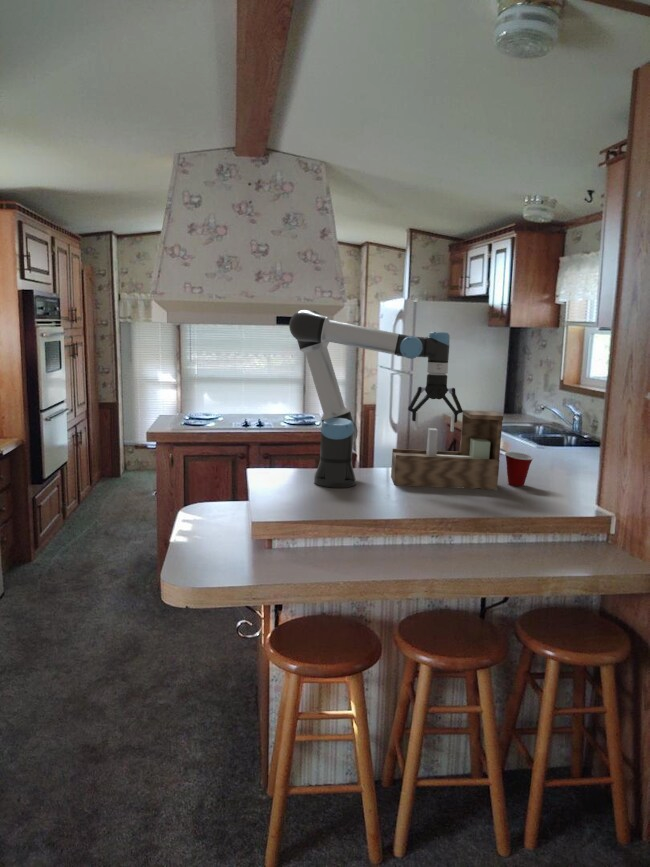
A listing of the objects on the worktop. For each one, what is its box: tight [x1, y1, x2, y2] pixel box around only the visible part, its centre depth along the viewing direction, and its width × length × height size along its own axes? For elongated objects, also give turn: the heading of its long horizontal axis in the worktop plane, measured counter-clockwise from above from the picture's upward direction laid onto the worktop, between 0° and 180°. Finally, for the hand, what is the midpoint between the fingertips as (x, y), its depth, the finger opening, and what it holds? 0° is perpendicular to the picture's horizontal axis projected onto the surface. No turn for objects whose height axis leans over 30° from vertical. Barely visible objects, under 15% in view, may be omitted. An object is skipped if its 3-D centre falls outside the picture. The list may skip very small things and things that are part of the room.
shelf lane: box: [390, 409, 504, 490], centre depth 249 cm, size 38×14×28 cm, turn 89°
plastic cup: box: [504, 451, 535, 487], centre depth 253 cm, size 11×11×12 cm
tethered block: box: [426, 427, 490, 459], centre depth 249 cm, size 22×7×10 cm, turn 89°
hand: (433, 430), depth 248 cm, fingers open, 13 cm apart
